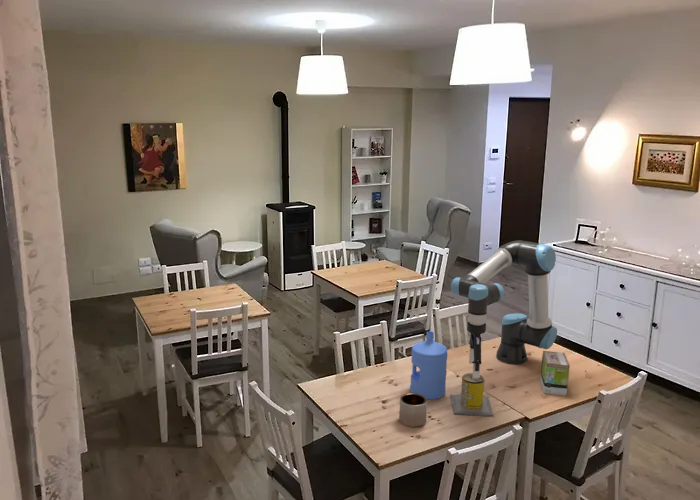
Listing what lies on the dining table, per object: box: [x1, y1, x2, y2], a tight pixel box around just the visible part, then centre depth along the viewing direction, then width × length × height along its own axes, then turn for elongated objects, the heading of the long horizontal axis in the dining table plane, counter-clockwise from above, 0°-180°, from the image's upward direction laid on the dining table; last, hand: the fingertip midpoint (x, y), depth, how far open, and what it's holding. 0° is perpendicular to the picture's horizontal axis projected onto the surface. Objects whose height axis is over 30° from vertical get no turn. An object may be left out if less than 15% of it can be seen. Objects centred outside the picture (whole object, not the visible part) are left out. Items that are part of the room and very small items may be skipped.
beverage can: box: [460, 372, 485, 409], centre depth 244 cm, size 9×9×12 cm
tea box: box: [539, 350, 571, 397], centre depth 262 cm, size 15×10×15 cm
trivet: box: [450, 394, 495, 417], centre depth 245 cm, size 16×16×1 cm
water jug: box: [409, 331, 448, 400], centre depth 254 cm, size 16×16×28 cm
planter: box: [398, 392, 428, 428], centre depth 232 cm, size 11×11×10 cm
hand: (474, 370), depth 242 cm, fingers open, 13 cm apart
